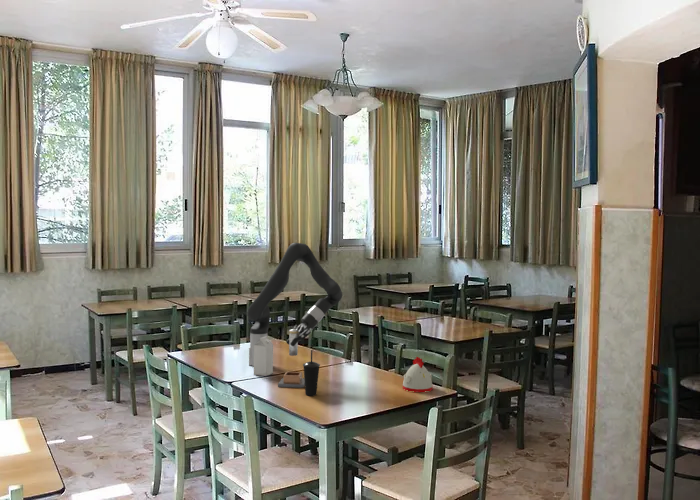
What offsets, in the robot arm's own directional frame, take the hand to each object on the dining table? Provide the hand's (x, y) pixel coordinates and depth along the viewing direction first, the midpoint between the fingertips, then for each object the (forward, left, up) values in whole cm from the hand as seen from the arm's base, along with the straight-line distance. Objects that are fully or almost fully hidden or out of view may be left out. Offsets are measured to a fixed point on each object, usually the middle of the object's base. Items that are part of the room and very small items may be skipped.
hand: (289, 344), depth 297 cm
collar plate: (+2, +1, -19) cm, 19 cm away
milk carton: (-16, +19, -20) cm, 32 cm away
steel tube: (+2, +1, -5) cm, 6 cm away
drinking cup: (+13, -16, -20) cm, 28 cm away
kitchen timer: (+61, +1, -20) cm, 64 cm away
